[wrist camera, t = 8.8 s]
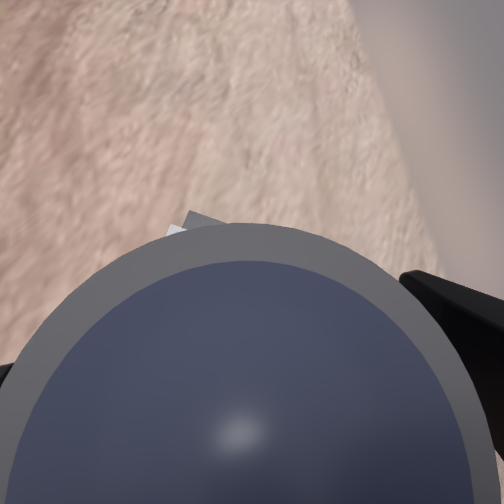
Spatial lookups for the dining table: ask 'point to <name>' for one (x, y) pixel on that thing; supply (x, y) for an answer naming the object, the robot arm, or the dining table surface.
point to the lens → (243, 384)
